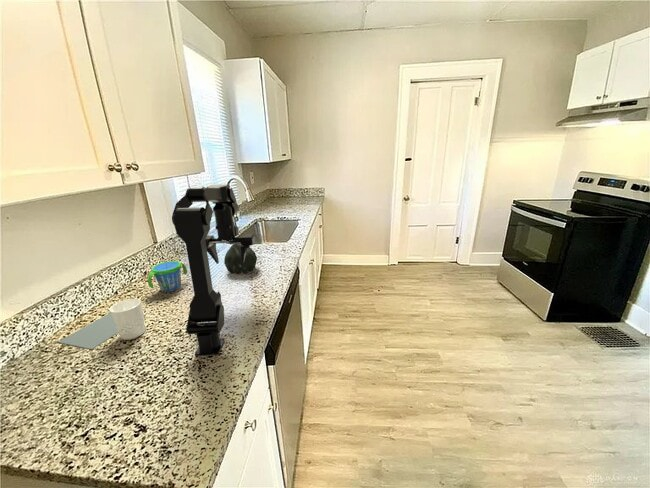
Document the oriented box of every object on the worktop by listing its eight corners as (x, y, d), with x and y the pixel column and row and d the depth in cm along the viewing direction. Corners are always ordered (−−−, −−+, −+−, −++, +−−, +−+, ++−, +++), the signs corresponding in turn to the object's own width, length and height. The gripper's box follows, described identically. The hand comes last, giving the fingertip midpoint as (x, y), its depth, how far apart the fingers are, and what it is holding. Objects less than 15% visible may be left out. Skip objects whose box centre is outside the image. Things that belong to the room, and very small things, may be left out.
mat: (145, 317, 97) (145, 315, 97) (92, 351, 80) (91, 349, 80) (115, 312, 101) (114, 310, 100) (58, 344, 84) (57, 341, 84)
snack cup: (157, 299, 108) (152, 275, 104) (145, 292, 114) (139, 269, 110) (195, 284, 120) (191, 262, 116) (182, 278, 125) (178, 257, 122)
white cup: (153, 325, 91) (146, 298, 88) (138, 340, 84) (130, 311, 80) (128, 326, 91) (120, 299, 88) (111, 342, 83) (102, 312, 80)
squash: (259, 252, 140) (236, 233, 133) (265, 263, 127) (239, 243, 120) (240, 272, 140) (215, 255, 132) (243, 286, 127) (216, 267, 119)
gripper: (255, 215, 105) (260, 254, 110) (205, 217, 104) (212, 256, 109) (249, 222, 94) (254, 265, 99) (193, 224, 94) (201, 267, 98)
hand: (230, 262), depth 102 cm, fingers open, 9 cm apart
